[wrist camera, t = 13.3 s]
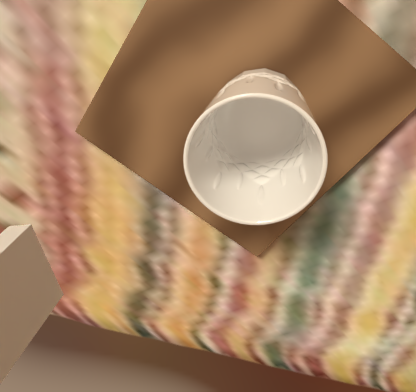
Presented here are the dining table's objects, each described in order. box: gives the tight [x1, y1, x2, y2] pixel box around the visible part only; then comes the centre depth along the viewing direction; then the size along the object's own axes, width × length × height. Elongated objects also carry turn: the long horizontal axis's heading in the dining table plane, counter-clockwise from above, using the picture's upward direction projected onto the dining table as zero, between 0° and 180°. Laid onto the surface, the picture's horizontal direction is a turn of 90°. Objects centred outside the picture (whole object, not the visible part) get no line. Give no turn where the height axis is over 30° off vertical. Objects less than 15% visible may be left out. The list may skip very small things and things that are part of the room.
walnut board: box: [75, 0, 416, 257], centre depth 30 cm, size 20×20×1 cm
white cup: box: [183, 68, 328, 225], centre depth 25 cm, size 8×8×10 cm
